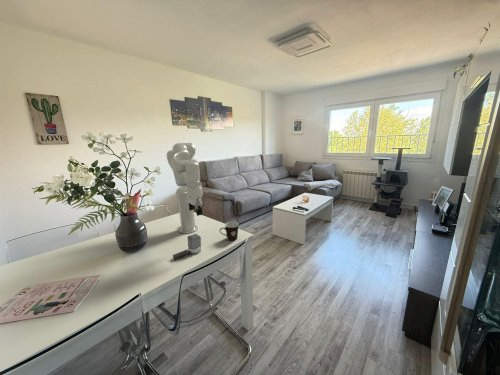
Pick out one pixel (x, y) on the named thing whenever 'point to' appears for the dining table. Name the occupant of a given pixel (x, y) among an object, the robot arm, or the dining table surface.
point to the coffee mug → (231, 230)
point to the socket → (194, 241)
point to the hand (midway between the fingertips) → (195, 212)
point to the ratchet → (186, 253)
